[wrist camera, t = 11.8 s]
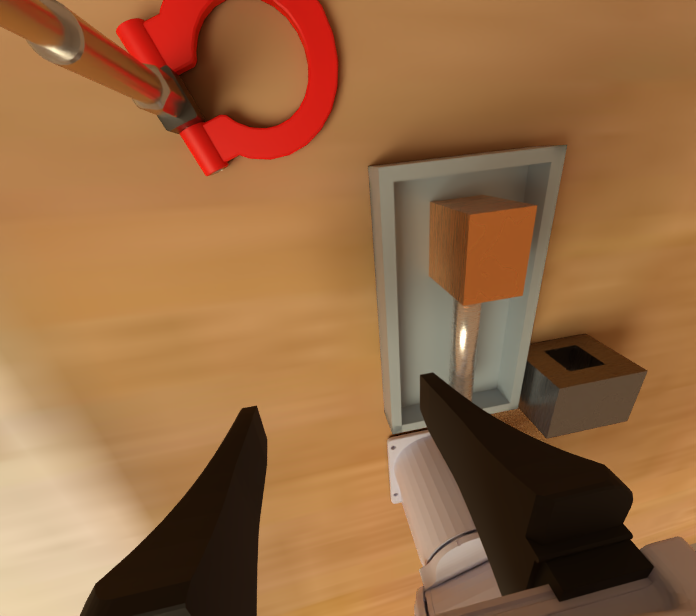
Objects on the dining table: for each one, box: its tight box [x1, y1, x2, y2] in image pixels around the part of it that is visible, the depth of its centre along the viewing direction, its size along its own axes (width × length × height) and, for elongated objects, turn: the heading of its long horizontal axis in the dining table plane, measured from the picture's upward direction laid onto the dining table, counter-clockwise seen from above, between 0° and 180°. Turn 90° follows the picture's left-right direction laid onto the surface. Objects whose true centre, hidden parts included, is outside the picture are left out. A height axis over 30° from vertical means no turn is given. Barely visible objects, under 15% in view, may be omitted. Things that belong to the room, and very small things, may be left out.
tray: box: [368, 145, 567, 434], centre depth 23 cm, size 20×11×2 cm, turn 6°
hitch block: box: [518, 334, 647, 438], centre depth 26 cm, size 5×7×5 cm
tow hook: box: [0, 0, 338, 176], centre depth 11 cm, size 8×13×9 cm
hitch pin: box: [429, 195, 537, 402], centre depth 21 cm, size 15×4×5 cm, turn 6°
